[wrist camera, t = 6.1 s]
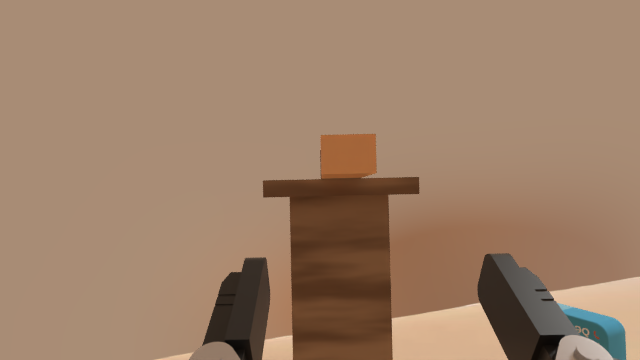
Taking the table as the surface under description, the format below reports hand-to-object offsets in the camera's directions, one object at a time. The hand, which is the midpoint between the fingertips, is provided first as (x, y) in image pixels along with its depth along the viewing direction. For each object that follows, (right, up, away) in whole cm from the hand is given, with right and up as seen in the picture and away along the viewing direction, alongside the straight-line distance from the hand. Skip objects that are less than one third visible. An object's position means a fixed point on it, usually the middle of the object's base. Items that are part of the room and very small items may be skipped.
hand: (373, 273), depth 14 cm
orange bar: (0, +4, +22) cm, 22 cm away
